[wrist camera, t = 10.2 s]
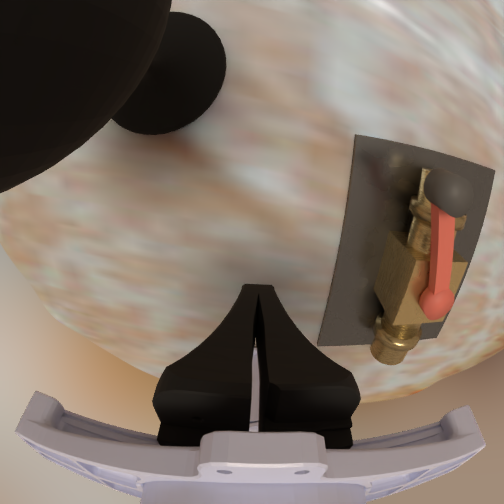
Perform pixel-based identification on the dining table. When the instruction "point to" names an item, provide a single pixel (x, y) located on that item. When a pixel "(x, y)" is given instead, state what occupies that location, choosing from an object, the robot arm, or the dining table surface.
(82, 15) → the wine glass
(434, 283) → the lever
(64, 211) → the dining table surface
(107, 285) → the dining table surface
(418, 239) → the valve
